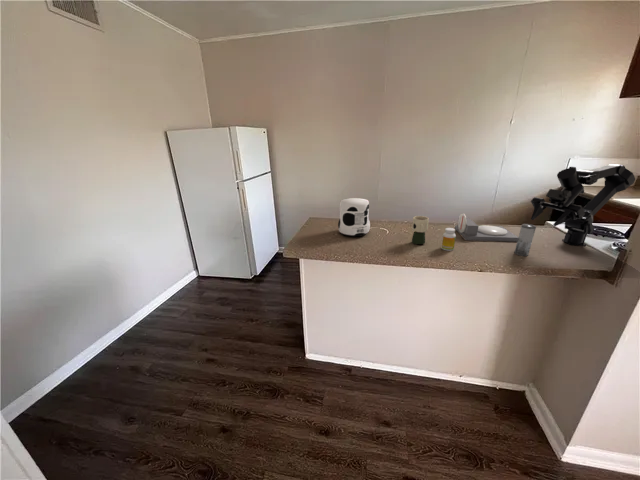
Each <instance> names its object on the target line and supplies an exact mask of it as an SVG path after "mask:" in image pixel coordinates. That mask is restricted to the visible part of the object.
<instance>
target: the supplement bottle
mask: <svg viewBox="0 0 640 480" xmlns="http://www.w3.org/2000/svg"><path fill="white" fill-rule="evenodd" d="M455 232H456V229H455V228H453V227H446V228H445V231H444V233H442V240H441V245H440V246H441V247H440V248H441V249H442V250H443V251H447V252H448V251H453V250H454V249H455V243H456V237H457V235H456V233H455Z"/></svg>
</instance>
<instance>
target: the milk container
mask: <svg viewBox="0 0 640 480" xmlns="http://www.w3.org/2000/svg"><path fill="white" fill-rule="evenodd" d="M369 212H370V201H369V200H368V199H366V198H359V197H351V198H350V197H349V198H344V199H341V200H340V202H339V219H338V222H337V227H338V228H337V229H338V232H339V233H341V234H342V235H344V236H348V237H360V236H361V237H362V236H365V235H367V234H368V233H369V231H370V229H371V222H370V216H369V215H370V213H369Z"/></svg>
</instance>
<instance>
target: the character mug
mask: <svg viewBox="0 0 640 480" xmlns="http://www.w3.org/2000/svg"><path fill="white" fill-rule="evenodd" d="M429 220H430V218H429V217H427V216H423V215H415V216H413V217H412V225H411V230H412V232H413V231H414V232H413V234H412V237H411V243H412V244H414V245H423V244H426V232H427V231H428V228H429Z"/></svg>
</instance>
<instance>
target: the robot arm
mask: <svg viewBox="0 0 640 480" xmlns="http://www.w3.org/2000/svg"><path fill="white" fill-rule="evenodd" d="M634 174H635V173H634V172H632V171H630V169H627V168H626V165H624V164H619V163H618V164H617V163H610V164H607V165H604V166H600V167H596V168H593V169H577V166H569V167H568V168H565V169H561V170H560V171H558V173H557V174H556V177H557V179H558V182H559V183H560V186H561V187H562V189H561V190H557V189H553V188H549V190H548V191H547V193H546V195H545V197H547V198H549V199H548V202H547V201H546V200H545V198H542V197H533V198H532V199H531V200H530V202H531V205H532V206H533V212H532V215H531V218H530V220H532V221H534V220H535V219H536V218H538V217H539V216H540V215H541V214H542V213H544V210H545V209H547V208H548V209H552V210H557V211H561V212H563V213H562V214H561V215H560V216H559V217H558V219H556V220H555V222H554V223H553V226H554V227H557V226H559V225H562V224H563V223H564V229H565V230H567V232H565V235H564V239H561V240H562V242H564V243H566V244H568V245H570V246H587V244H586V243H585V241H586V238H587V236H588V235H591V234H592V233H593V232H594V230H595V227H594V225H593V223H594V216H595V215H596V214H597V213H598V212H599V211H600V210H601V209H603V207H604V205H606V204H607V203H608V202H609V200H611V199H612V197H614V196H615V195H616V194H617V193H620V192H622V191H625V190H627V189H628V188H629V187H631V186H632V185H634V183H635V181H636V176H635V175H634ZM600 179H604V186H603V187H602V188H601V190H599V191H598V192H597V193H596V195H594V197H593V198H592V199H590V201H588V202H587V203H586V205H585V206H582V205H578V204H574V203H575V199H576V198H577V197H578V196H579V195H580V194H585V188H584V185H585V186H586V185H587V186H592V185H594V184H596V183H597V182H598V180H600Z"/></svg>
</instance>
